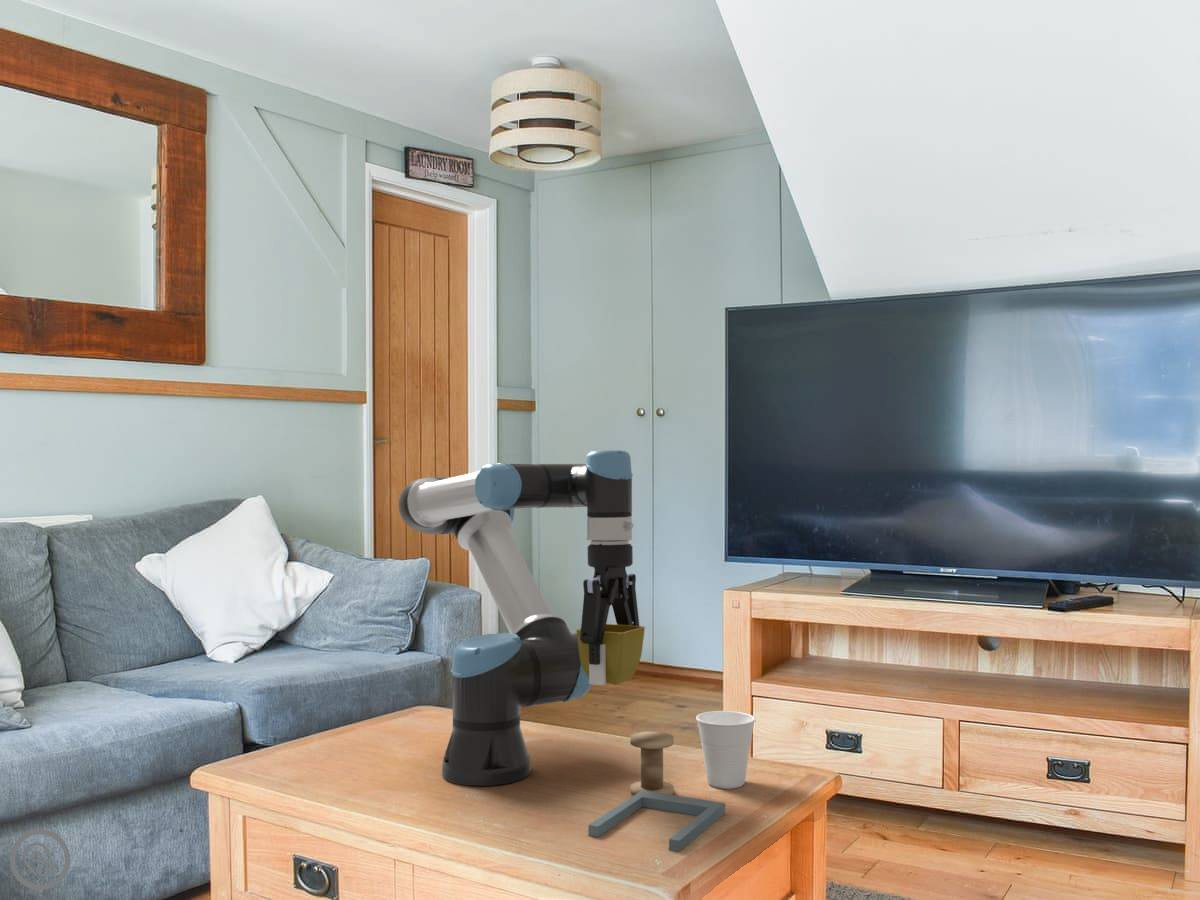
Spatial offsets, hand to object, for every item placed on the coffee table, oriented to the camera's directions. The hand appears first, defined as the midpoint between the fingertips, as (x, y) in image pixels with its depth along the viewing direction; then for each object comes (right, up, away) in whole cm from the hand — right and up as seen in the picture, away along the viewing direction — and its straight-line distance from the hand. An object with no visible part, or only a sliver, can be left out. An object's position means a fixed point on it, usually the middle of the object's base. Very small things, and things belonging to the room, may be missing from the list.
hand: (611, 679), depth 168 cm
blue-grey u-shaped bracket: (+7, -17, -19) cm, 26 cm away
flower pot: (0, -1, 0) cm, 1 cm away
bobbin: (+7, -17, -4) cm, 19 cm away
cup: (+19, -18, 0) cm, 26 cm away
